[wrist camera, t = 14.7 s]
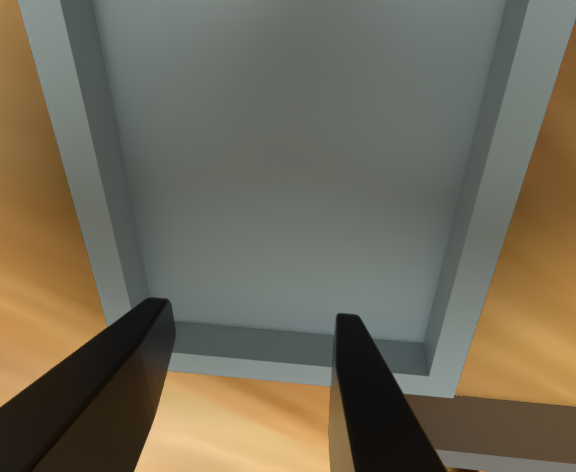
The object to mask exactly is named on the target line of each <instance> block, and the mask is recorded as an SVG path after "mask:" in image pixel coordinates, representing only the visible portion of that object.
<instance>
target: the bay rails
mask: <svg viewBox="0 0 576 472" xmlns="http://www.w3.org/2000/svg"><path fill="white" fill-rule="evenodd" d="M404 395H405V397H406V399H407V400H408V402H409V404H410V406H411V407H412V409H413V411H414V413H415V414H416V416H417V418H418V420H419V421H420V423H421V425H422V427H423V428H424V430H425V432H426V434H427V436H428V437H429V439H430V441H431V443H432V444H433V446H434V448H435V450H436V451H437V453H438V455H439V457H440V458H441V460H442V462H443V464H444V465H445V467H453V468H462V469H471V470H480V471H490V472H576V407H570V406H560V405H549V404H539V403H528V402H518V401H507V400H497V399H486V398H476V397H466V396H455V395H454V398H444V397H434V396H423V395H413V394H404Z"/></svg>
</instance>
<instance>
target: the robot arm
mask: <svg viewBox="0 0 576 472" xmlns="http://www.w3.org/2000/svg"><path fill="white" fill-rule="evenodd" d="M175 339H176V327H175V321H174V315H173V309H172V304H171V302H170V300H169V299H167V298H158V297H148V298H146V299H144V300H143V301H142V302H140V303H139V304H138V305H136V306H135V307H134V308H132V309H131V310H130V311H128V312H127V313H126V314H124V315H123V316H122V317H120V318H119V319H118V320H116V321H115V322H114V323H112V324H111V325H110V326H108V327H107V328H106V329H104V330H103V331H102V332H100V333H99V334H97V335H96V336H95V337H93V338H92V339H91V340H89V341H88V342H87V343H85V344H84V345H83V346H81V347H80V348H79V349H77V350H76V351H75V352H73V353H72V354H71V355H69V356H68V357H67V358H65V359H64V360H63V361H61V362H60V363H59V364H57V365H56V366H55V367H53V368H52V369H51V370H49V371H48V372H47V373H45V374H44V375H43V376H41V377H40V378H39V379H37V380H36V381H35V382H33V383H32V384H31V385H29V386H28V387H27V388H25V389H24V390H23V391H21V392H20V393H19V394H17V395H16V396H15V397H13V398H12V399H11V400H9V401H8V402H6V403H5V404H4V405H2V406H1V407H0V472H134V470H135V468H136V465H137V463H138V460H139V457H140V455H141V452H142V450H143V447H144V445H145V442H146V439H147V437H148V434H149V432H150V429H151V426H152V424H153V421H154V418H155V415H156V412H157V408H158V405H159V401H160V397H161V393H162V389H163V386H164V382H165V378H166V374H167V370H168V367H169V363H170V359H171V355H172V351H173V348H174V344H175ZM328 435H329V455H330V470H331V472H448V471H447V469H446V467H445V465H444V464H443V462H442V460H441V458H440V457H439V455H438V453H437V451H436V450H435V448H434V446H433V444H432V443H431V441H430V439H429V437H428V436H427V434H426V432H425V430H424V428H423V427H422V425H421V423H420V421H419V420H418V418H417V416H416V414H415V413H414V411H413V409H412V407H411V406H410V404H409V402H408V400H407V399H406V397H405V395H404V393H403V391H402V390H401V388H400V386H399V384H398V383H397V381H396V379H395V377H394V376H393V374H392V372H391V370H390V369H389V367H388V365H387V363H386V362H385V360H384V358H383V356H382V354H381V353H380V351H379V349H378V347H377V346H376V344H375V342H374V340H373V339H372V337H371V335H370V333H369V332H368V330H367V328H366V326H365V324H364V323H363V321H362V319H361V318H360V316H359V315H357V314H347V313H338V314H337V315H336V319H335V330H334V341H333V353H332V371H331V389H330V407H329V431H328Z"/></svg>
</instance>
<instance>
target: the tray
mask: <svg viewBox="0 0 576 472" xmlns="http://www.w3.org/2000/svg"><path fill="white" fill-rule="evenodd" d="M18 3H19V7H20V11H21V14H22V18H23V21H24V25H25V29H26V32H27V36H28V40H29V43H30V47H31V50H32V54H33V58H34V61H35V65H36V69H37V72H38V76H39V80H40V83H41V87H42V90H43V94H44V98H45V101H46V105H47V109H48V112H49V116H50V119H51V123H52V127H53V130H54V134H55V138H56V141H57V145H58V148H59V152H60V156H61V159H62V163H63V167H64V170H65V174H66V178H67V181H68V185H69V188H70V192H71V196H72V199H73V203H74V207H75V210H76V214H77V217H78V221H79V225H80V228H81V232H82V236H83V239H84V243H85V246H86V250H87V254H88V257H89V261H90V265H91V268H92V272H93V276H94V279H95V283H96V286H97V290H98V294H99V297H100V301H101V305H102V308H103V312H104V315H105V319H106V323H107V326H110V325H111V324H112V323H114V322H115V321H116V320H118V319H119V318H120V317H122V316H123V315H124V314H126V313H127V312H128V311H130V310H131V309H132V308H134V307H135V306H136V305H138V304H139V303H140V302H142V301H143V300H144V299H146V298H148V297H158V298H167V299H169V300H170V302H171V304H172V309H173V315H174V321H175V327H176V339H175V344H174V348H173V351H172V355H171V359H170V363H169V367H168V370H167V371H174V372H184V373H195V374H205V375H216V376H226V377H236V378H247V379H257V380H268V381H278V382H288V383H299V384H309V385H319V386H330V387H331V371H332V353H333V341H334V330H335V319H336V315H337V314H338V313H347V314H357V315H359V316H360V318H361V319H362V321H363V323H364V324H365V326H366V328H367V330H368V332H369V333H370V335H371V337H372V339H373V340H374V342H375V344H376V346H377V347H378V349H379V351H380V353H381V354H382V356H383V358H384V360H385V362H386V363H387V365H388V367H389V369H390V370H391V372H392V374H393V376H394V377H395V379H396V381H397V383H398V384H399V386H400V388H401V390H402V391H403V393H404V394H413V395H423V396H434V397H444V398H454V395H455V392H456V389H457V385H458V382H459V379H460V376H461V373H462V370H463V367H464V364H465V361H466V358H467V354H468V351H469V348H470V345H471V342H472V339H473V336H474V333H475V330H476V326H477V323H478V320H479V317H480V314H481V311H482V308H483V305H484V302H485V299H486V295H487V292H488V289H489V286H490V283H491V280H492V277H493V274H494V271H495V268H496V264H497V261H498V258H499V255H500V252H501V249H502V246H503V243H504V240H505V236H506V233H507V230H508V227H509V224H510V221H511V218H512V215H513V212H514V209H515V205H516V202H517V199H518V196H519V193H520V190H521V187H522V184H523V181H524V178H525V174H526V171H527V168H528V165H529V162H530V159H531V156H532V153H533V150H534V146H535V143H536V140H537V137H538V134H539V131H540V128H541V125H542V122H543V119H544V115H545V112H546V109H547V106H548V103H549V100H550V97H551V94H552V91H553V88H554V84H555V81H556V78H557V75H558V72H559V69H560V66H561V63H562V60H563V56H564V53H565V50H566V47H567V44H568V41H569V38H570V35H571V32H572V29H573V25H574V22H575V19H576V0H18Z"/></svg>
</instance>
